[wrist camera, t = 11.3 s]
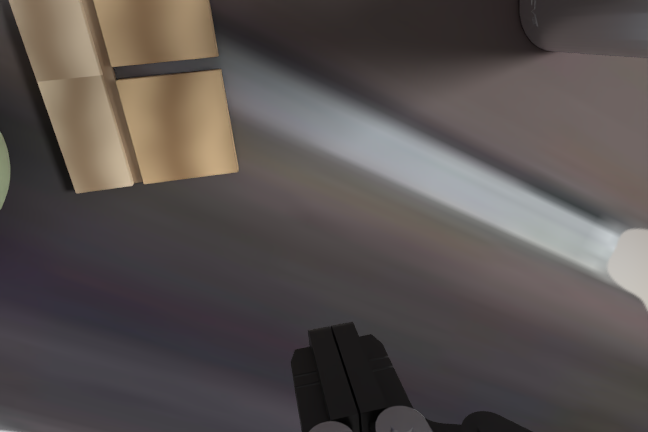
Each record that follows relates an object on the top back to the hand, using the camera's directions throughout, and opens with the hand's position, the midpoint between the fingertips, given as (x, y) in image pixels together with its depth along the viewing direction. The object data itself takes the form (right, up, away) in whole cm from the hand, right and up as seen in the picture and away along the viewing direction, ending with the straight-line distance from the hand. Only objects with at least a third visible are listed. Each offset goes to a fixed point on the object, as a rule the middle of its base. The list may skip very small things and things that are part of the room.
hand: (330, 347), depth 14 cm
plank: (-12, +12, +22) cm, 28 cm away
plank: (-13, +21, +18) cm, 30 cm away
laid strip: (-20, +15, +19) cm, 31 cm away
